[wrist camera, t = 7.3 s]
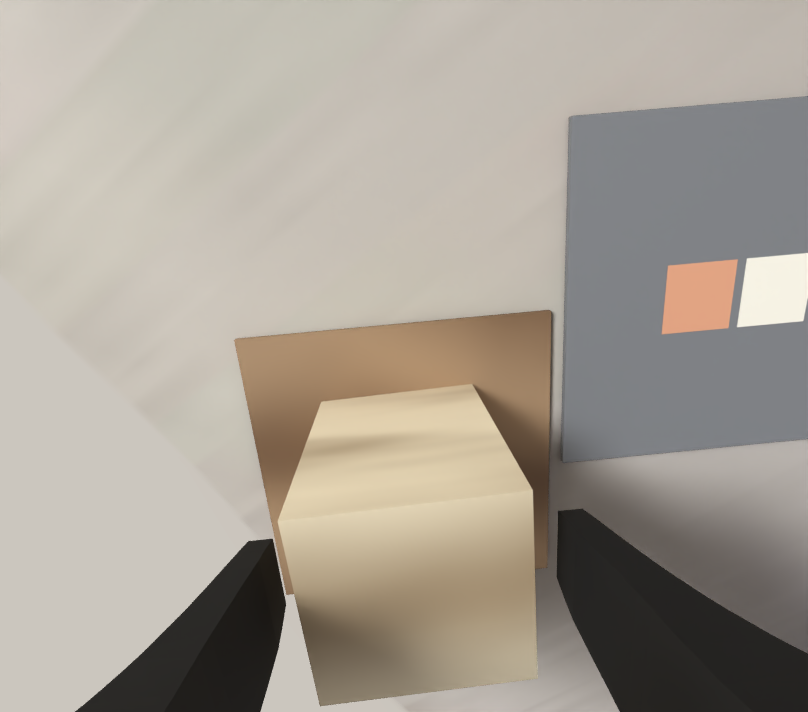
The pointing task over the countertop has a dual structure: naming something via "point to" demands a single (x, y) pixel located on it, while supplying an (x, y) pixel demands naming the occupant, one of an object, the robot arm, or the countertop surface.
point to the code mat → (686, 279)
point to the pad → (401, 389)
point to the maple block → (411, 548)
